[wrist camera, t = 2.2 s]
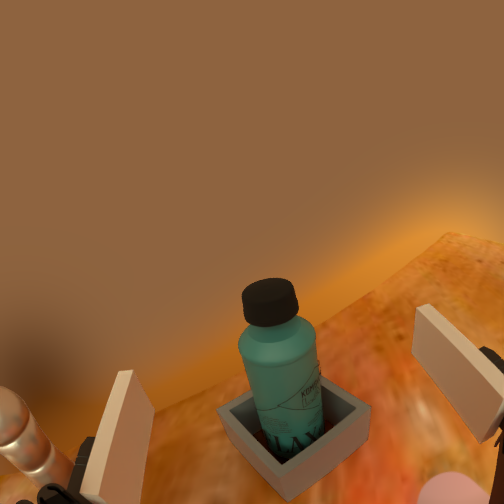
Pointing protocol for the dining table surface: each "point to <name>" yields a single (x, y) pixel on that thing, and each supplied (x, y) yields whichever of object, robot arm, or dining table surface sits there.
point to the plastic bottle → (30, 444)
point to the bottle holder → (313, 457)
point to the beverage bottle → (282, 367)
